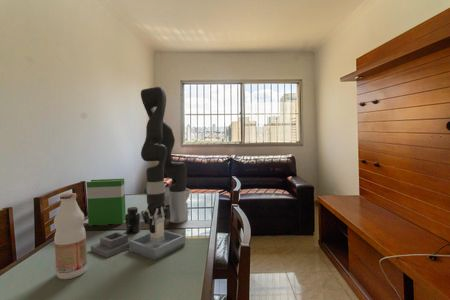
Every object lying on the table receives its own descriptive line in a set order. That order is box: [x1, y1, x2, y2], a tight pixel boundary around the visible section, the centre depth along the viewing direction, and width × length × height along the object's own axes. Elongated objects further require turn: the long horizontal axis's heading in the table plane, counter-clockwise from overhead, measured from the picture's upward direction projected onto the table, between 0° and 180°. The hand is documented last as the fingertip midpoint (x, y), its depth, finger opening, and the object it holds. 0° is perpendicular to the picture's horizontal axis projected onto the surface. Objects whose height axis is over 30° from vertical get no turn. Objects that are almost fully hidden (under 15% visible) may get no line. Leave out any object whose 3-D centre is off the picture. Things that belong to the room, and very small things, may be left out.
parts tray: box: [128, 229, 186, 261], centre depth 109 cm, size 16×16×4 cm
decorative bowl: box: [164, 186, 191, 213], centre depth 166 cm, size 27×27×12 cm
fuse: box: [149, 216, 165, 243], centre depth 109 cm, size 4×4×10 cm
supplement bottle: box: [125, 206, 141, 235], centre depth 128 cm, size 7×7×12 cm
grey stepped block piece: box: [90, 231, 133, 258], centre depth 109 cm, size 14×12×5 cm
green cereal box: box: [85, 178, 127, 227], centre depth 141 cm, size 18×7×24 cm, turn 98°
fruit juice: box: [53, 192, 88, 280], centre depth 89 cm, size 9×9×28 cm
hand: (157, 230), depth 109 cm, fingers closed on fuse, 4 cm apart
